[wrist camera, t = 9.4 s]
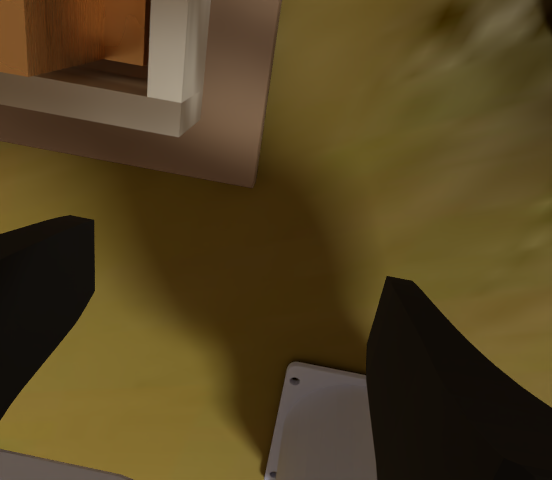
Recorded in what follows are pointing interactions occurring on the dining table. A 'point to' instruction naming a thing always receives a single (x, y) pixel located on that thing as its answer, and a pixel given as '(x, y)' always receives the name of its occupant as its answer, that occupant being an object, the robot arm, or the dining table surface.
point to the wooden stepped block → (71, 34)
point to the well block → (161, 95)
